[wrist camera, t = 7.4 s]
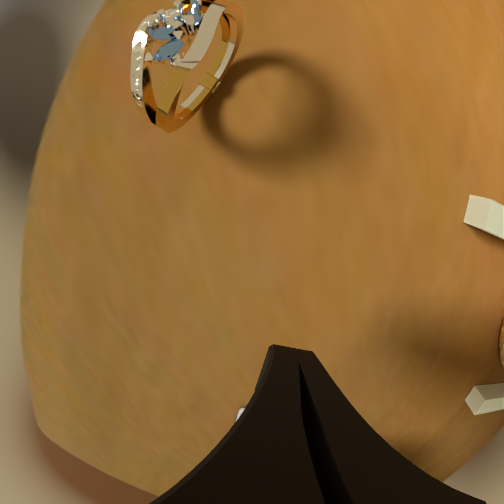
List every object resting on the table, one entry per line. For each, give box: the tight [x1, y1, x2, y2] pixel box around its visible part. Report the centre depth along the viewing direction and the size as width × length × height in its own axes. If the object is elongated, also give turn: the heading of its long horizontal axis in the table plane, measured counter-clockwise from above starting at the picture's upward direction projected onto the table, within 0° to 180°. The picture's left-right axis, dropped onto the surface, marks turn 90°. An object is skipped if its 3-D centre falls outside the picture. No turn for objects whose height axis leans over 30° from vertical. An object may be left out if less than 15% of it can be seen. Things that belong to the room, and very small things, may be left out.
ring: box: [131, 0, 245, 133], centre depth 11 cm, size 7×3×8 cm, turn 146°
